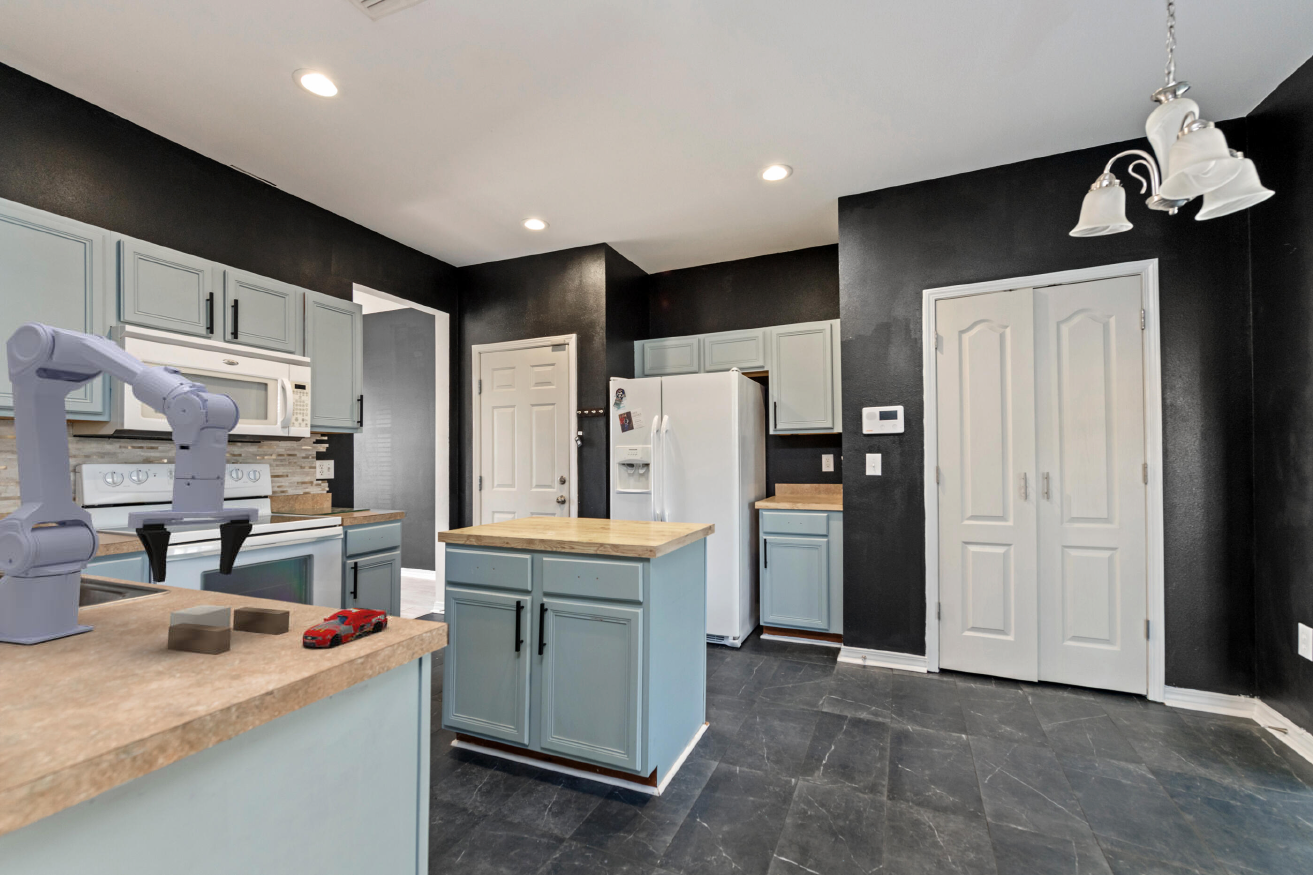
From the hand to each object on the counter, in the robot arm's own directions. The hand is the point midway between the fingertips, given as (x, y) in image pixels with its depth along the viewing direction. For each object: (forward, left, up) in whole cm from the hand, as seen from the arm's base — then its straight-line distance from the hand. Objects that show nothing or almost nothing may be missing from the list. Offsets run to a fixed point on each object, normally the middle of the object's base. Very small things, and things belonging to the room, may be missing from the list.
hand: (193, 577), depth 84 cm
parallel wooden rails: (+2, +4, -9) cm, 11 cm away
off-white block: (-3, +4, -10) cm, 11 cm away
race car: (+16, +10, -10) cm, 22 cm away
